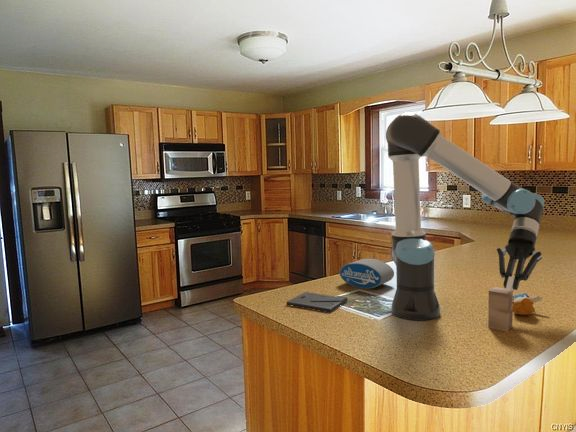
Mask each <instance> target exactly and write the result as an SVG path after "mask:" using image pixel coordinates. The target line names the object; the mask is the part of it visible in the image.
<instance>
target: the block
mask: <svg viewBox="0 0 576 432" xmlns="http://www.w3.org/2000/svg"><path fill="white" fill-rule="evenodd" d="M513 295H514V292H513V290H512V289H506V288H504V287H497V286H493V287H492V288H490V289H489V290H488V309H487V310H488V312H487V313H488V317H487V318H488V321H487V322H488V325H487V326H488V327H487V328H489V329H493V330H497V331H503V332H508V331H510V329H512V328H513V314H514V311H513Z"/></svg>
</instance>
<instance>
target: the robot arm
mask: <svg viewBox="0 0 576 432" xmlns="http://www.w3.org/2000/svg"><path fill="white" fill-rule="evenodd" d="M385 140H386V144H387V155H388V156H387V157H388V158H389V159H390V160H391V161H392V168H393V169H392V170H393V172H392V173H393V193H394V194H393V197H394V216H395V219H394V220H395V222H394V223H395V230H394V231H393V232H391V249H390V255H391V259H392V261H393V262H394V264H395V266H396V268H395V269H396V270H395V271H396V290H395V294H394V297H393V299H392V302H391V312H392V314H393V315H394V316H396V317H398V318H400V319H405V320H412V321H428V320H433V319H436V318H438V317H440V315H441V306H440V303H439V300H438V297H437V295H436V291H435V255H436V254H435V249H434V244H433V243H431V241H429V240H428V239H427V233H426V231H424V230H423V229H422V220H421V218H422V217H421V216H422V215H421V199H420V198H421V193H420V189H421V187H420V167H419V166H420V163H419V161H420V160H419V159H421V158H422V157H427V158H428V159H430V160H431V161H433V162H434V163H436V164H437V165H439V166H440V167H442V168H443V169H445V170H446V171H448V172H450V173H451V174H453V175H454V176H456V177H457V178H458V179H460V180H461V181H463V182H465V183H466V184H468V185H469V186H471V187H472V188H474V189H475V190H476V191H478V192H480V193H481V200H482V201H483V202H484V203H486V204H487V205H489V206H492V207H493V208H496V209H498V210H499V211H501V212H504V213H506V214H508V215H510V216H513V217H514V219H513V222H512V226H511V230H510V235H509V238H508V241H507V244H506V245H505V246H504V247H502V248H500V247H498V248H497V249H496V252H497V255H498V267H499V269H498V270H499V274H500V277H501V278H502V279H503V278H504V280H503V285H502V286H503V288H506V289H512V290H513V293H514V292H515V290H516V291H517V290H518V289H519V287H520V286H519V285H520V282H521V281H525V282H527V281H528V279H529V278H530V276H531V274H532V272H533V270H534V269H535V267H536V265H537V264H538V263H539V262H540V261H541V260H542V259H543V254H542V252H541V251H537V250H536V248H535V247H536V242H537V237H538V234H539V229H540V224H541V222H542V221H541V220H542V216H543V214H544V210H545V200H544V197H543V196H542V195H540V194H538V193H533V192H531V191H530V190H528V189H526V188H523V187H520V186H518V185H517V184H515V183H514V182H512V181H511V180H510V179H508V178H507V177H505V176H503V175H501V174H500V172H497V171H496V170H494V169H493V168H491V167H490V166H489V165H487V164H485V163H484V162H483V161H481V160H480V159H477V157H475V156H473V154H472V155H471V154H470V153H468V152H467V151H466V150H464V149H463V148H461V147H459V146H458V145H457V144H455V143H453V142H452V141H450V140H449V139H447V138H446V137H444V136H443V135H442V131H441V130H440V129H439V128H437V127H436V126H434V125H433V124H432V123H430V122H429V121H427V120H426V119H425V118H423V117H422V116H421V115H419V114H418V113H413V112H404V113H401V114H400V115H397V116H396V117H395V118H394V119H393V120H392V121H391V122H390V124H389V125H388V126H387V129H386V131H385ZM506 253H507V254H508V255H509V260H508V262H507V263H508V264H507V266H506V262H505V260H506V259H505V256H506ZM529 258H530V260H529V261H528V263H527V265H526V266H525V264H526V261H527V260H528V259H529ZM516 263H517V264H516ZM515 265H516V269H515ZM524 267H525V268H524ZM514 269H515V273H514V275H513V272H514Z"/></svg>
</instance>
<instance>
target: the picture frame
mask: <svg viewBox="0 0 576 432" xmlns="http://www.w3.org/2000/svg"><path fill="white" fill-rule="evenodd" d="M347 301H348V297H347V296H341V295H335V296H334V295H330V294H321V293H314V292H309V291H307V292H306V291H304V292H302V293H300V294H299V295H297V296H295V297H293V298H291V299H289V300H287V301H286V306H287V305H293V306H298V307H297V308H299V307H304V308H303V309H305V308H310V309H309V310H311V309H315V310H314V311H317V310H320V311H319V312H323V311H326V312H325V313H329V312H331V313H333V312H334V311H336V310H337V309H339V308H340V307H341V306H340V305H342V304H343V305H345V304H346V303H347ZM345 302H346V303H345ZM348 302H349V301H348ZM344 303H345V304H344ZM343 305H342V306H343ZM293 306H292V307H293ZM339 306H340V307H339ZM338 307H339V308H338ZM336 308H337V309H336ZM335 309H336V310H335ZM333 310H334V311H333ZM332 311H333V312H332Z"/></svg>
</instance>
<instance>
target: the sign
mask: <svg viewBox="0 0 576 432" xmlns="http://www.w3.org/2000/svg"><path fill="white" fill-rule="evenodd" d="M339 276H340V278H341V279H342V280H343V281H344V282H345V283H346V284H348V285H350V286H352V287H356V288H359V287H360V288H361V289H375V288H378V287H380V286H382V285H383V284H385V283H388V282H390V281H392V280H393V278H394V276H395V270H394V268H392V267H391V265H389V264H388V263H386V262H385V261H381V260H380V259H375V258H362V259H358V260H355V261H353V262H350V263H346V264H345V265H343V266H341V268H339Z"/></svg>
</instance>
